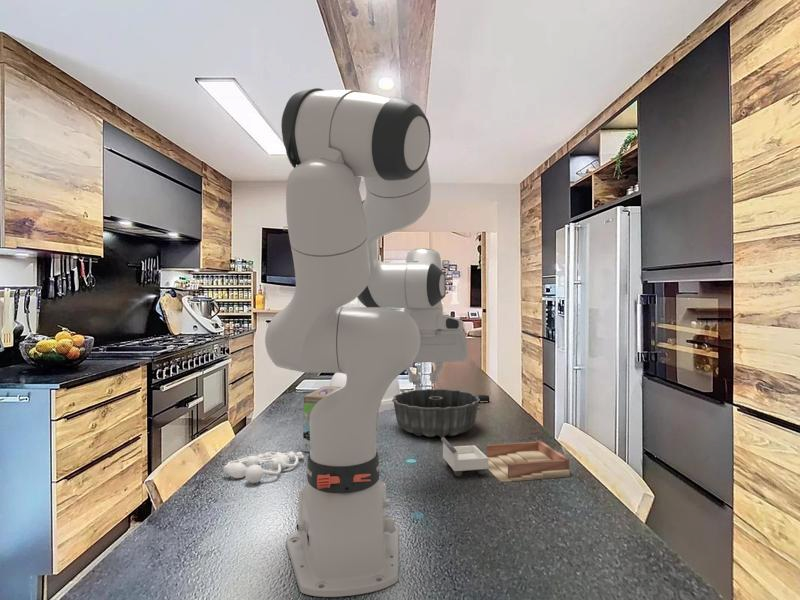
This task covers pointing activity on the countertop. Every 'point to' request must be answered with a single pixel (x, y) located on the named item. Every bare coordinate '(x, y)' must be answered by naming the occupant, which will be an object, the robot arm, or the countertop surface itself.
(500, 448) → the dock
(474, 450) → the white tray with rod
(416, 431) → the bundt pan
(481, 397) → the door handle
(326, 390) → the tea box
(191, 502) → the countertop surface
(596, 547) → the countertop surface
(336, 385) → the dome cover
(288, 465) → the tangled rod sculpture
